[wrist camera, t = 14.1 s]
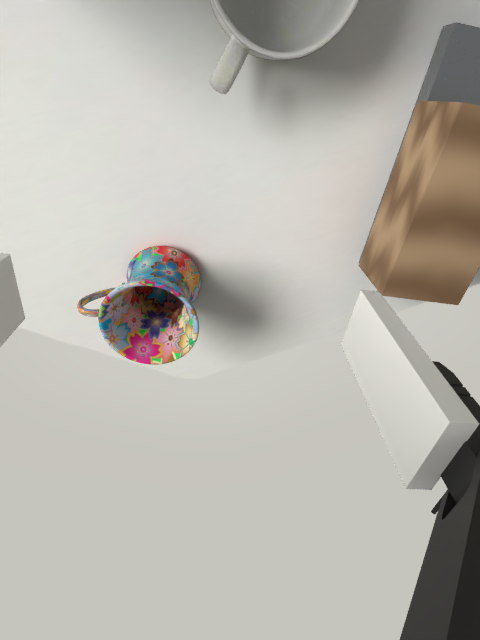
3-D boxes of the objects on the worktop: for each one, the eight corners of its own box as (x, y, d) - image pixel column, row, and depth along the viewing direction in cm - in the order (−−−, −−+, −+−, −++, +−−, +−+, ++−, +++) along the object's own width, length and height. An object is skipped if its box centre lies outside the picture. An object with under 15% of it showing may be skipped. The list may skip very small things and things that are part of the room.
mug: (207, 244, 40) (202, 287, 31) (201, 313, 45) (195, 368, 36) (98, 232, 39) (60, 274, 30) (104, 305, 44) (73, 359, 35)
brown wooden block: (418, 100, 32) (462, 102, 26) (499, 116, 32) (560, 121, 26) (358, 265, 40) (381, 295, 34) (424, 274, 41) (458, 305, 35)
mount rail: (443, 26, 30) (475, 16, 26) (510, 41, 31) (551, 33, 27) (358, 263, 42) (372, 280, 38) (409, 269, 43) (427, 287, 39)
